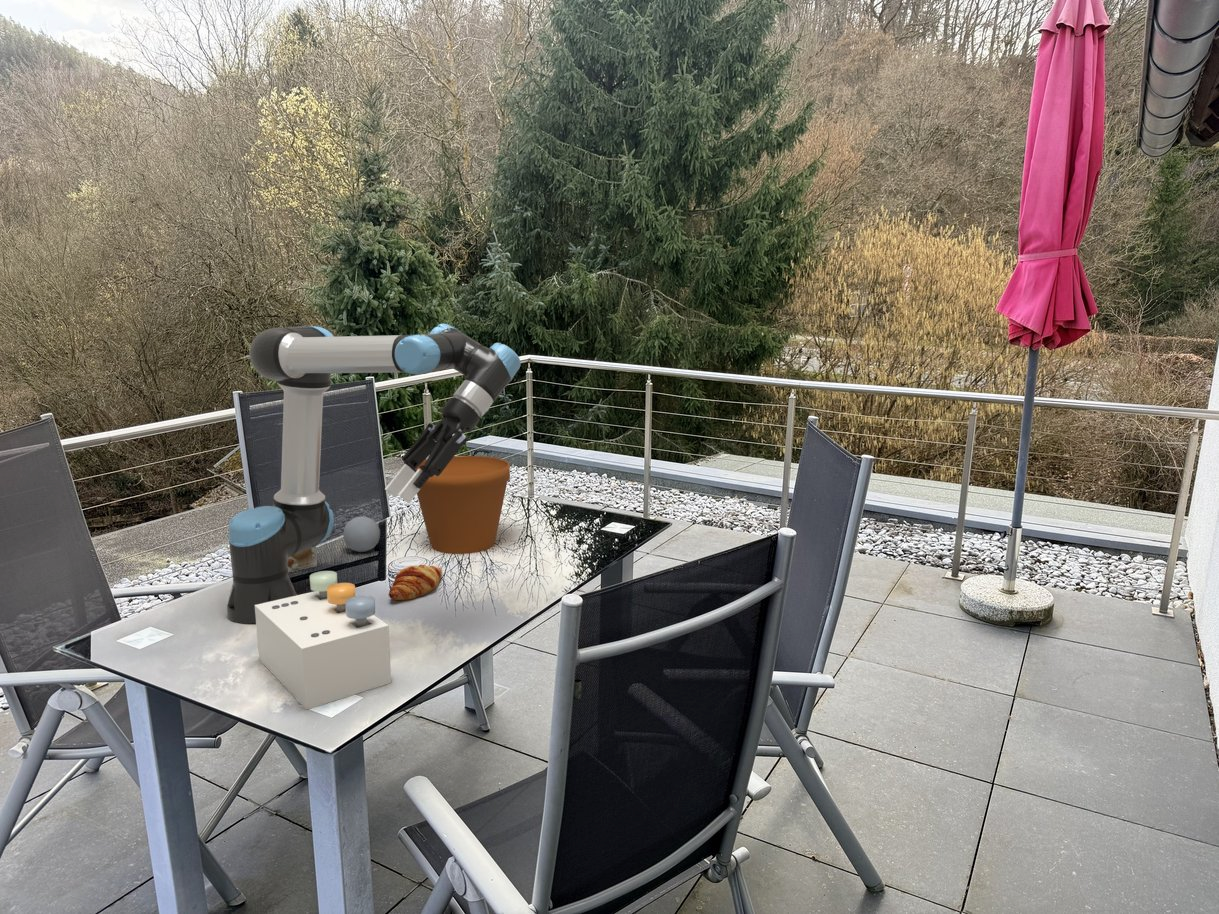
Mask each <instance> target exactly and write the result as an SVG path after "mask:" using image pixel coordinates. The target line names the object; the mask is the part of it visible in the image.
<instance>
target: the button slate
mask: <svg viewBox="0 0 1219 914" xmlns="http://www.w3.org/2000/svg"><path fill="white" fill-rule="evenodd" d="M355 596H356V595H355ZM375 601H376V599H375V597H373V596H370V595H357V596H356V597H352V598H349V599H347V600H346V602H345V604H346V616H347V617H348V618H352V619H356V628H359V627H363V626H367V617H370V616H372V615H374V616H375V614H376V603H375Z"/></svg>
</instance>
